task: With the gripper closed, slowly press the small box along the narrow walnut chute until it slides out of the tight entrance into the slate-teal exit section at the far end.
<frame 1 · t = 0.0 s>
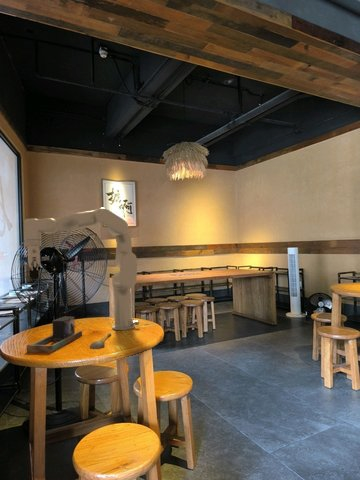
hand: (34, 278, 158), 31 cm above the table, tool pointing down, fingers open, 9 cm apart
soupspoon: (102, 343, 153), on the table
small box: (64, 339, 160), resting in chute
chute: (57, 342, 154), on the table
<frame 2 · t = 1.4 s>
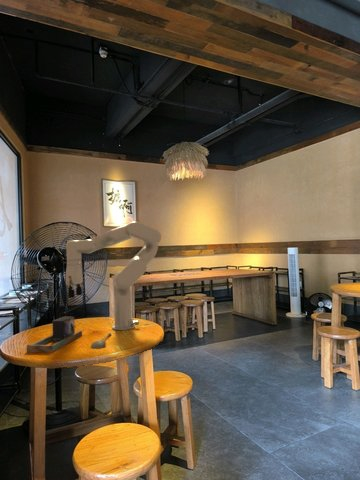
hand: (75, 296, 172), 20 cm above the table, tool pointing down, fingers open, 7 cm apart
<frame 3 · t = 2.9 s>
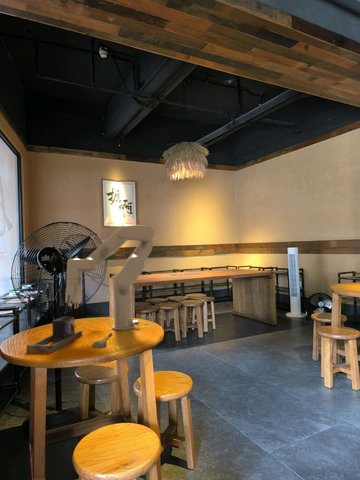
hand: (74, 315, 172), 9 cm above the table, tool pointing down, fingers closed
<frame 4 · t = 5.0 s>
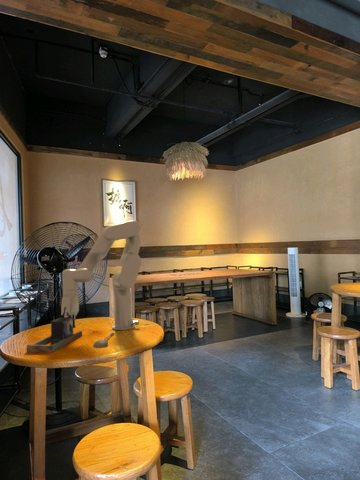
hand: (71, 328, 167), 4 cm above the table, tool pointing down, fingers closed
small box: (62, 340, 159), resting in chute, touching gripper
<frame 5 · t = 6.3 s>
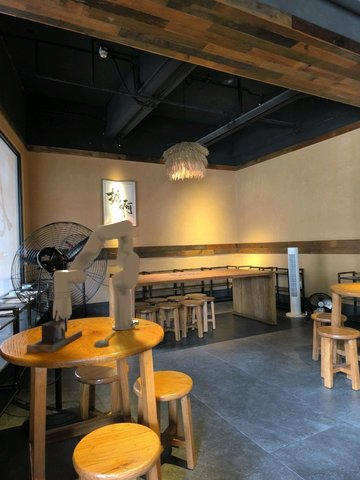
hand: (63, 331, 160), 4 cm above the table, tool pointing down, fingers closed
small box: (54, 345, 151), resting in chute, touching gripper
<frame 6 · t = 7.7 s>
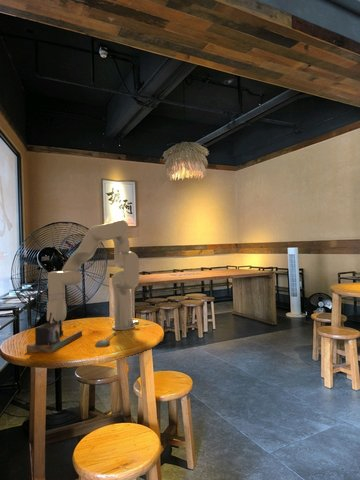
hand: (58, 334, 155), 4 cm above the table, tool pointing down, fingers closed
small box: (48, 348, 146), resting in chute, touching gripper
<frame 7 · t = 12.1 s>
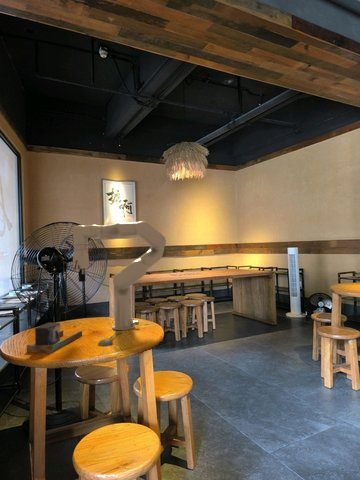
hand: (82, 281, 176), 27 cm above the table, tool pointing down, fingers closed
soupspoon: (111, 341, 156), on the table
small box: (48, 348, 146), resting in chute
at the end: small box inside the target area (0.7 cm from its centre), resting in chute; small box tilted 0°; small box moved 13.7 cm from its start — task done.
